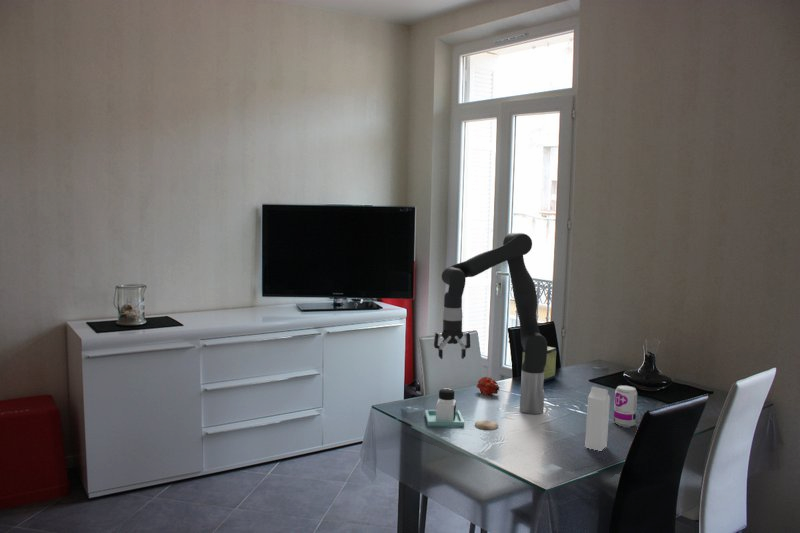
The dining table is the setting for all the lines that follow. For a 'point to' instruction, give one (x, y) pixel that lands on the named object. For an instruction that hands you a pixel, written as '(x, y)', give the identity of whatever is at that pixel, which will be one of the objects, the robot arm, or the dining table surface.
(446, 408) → the medicine bottle
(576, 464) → the dining table surface
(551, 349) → the protein box
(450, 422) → the tray
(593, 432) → the milk
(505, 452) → the dining table surface
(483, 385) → the dragon fruit
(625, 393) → the supplement can
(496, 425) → the cork coaster
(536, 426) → the dining table surface
